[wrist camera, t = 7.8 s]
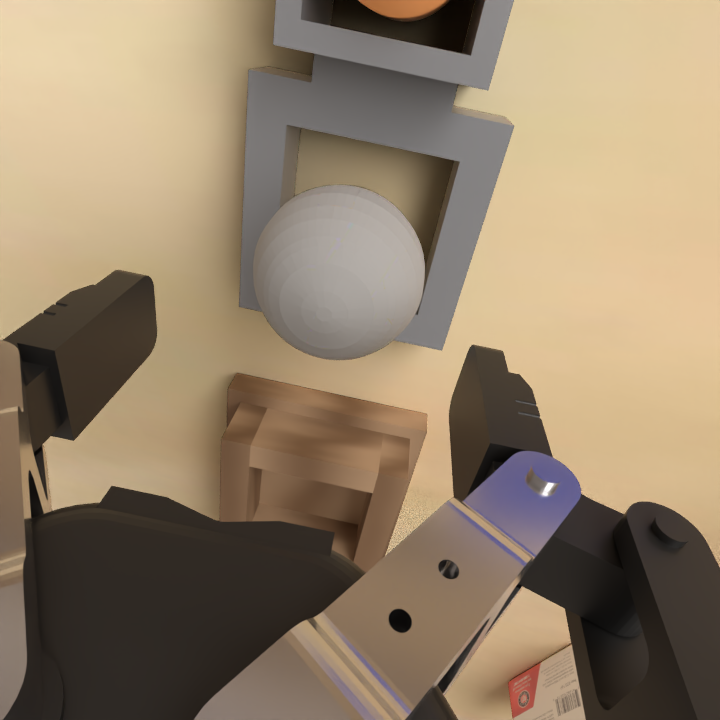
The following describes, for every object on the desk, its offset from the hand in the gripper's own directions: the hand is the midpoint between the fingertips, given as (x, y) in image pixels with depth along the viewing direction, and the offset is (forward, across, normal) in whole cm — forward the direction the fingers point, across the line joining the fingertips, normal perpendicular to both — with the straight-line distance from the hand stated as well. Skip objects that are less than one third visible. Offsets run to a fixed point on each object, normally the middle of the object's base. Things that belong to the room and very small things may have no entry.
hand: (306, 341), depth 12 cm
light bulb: (+12, 0, 0) cm, 12 cm away
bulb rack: (+11, 0, +21) cm, 24 cm away
